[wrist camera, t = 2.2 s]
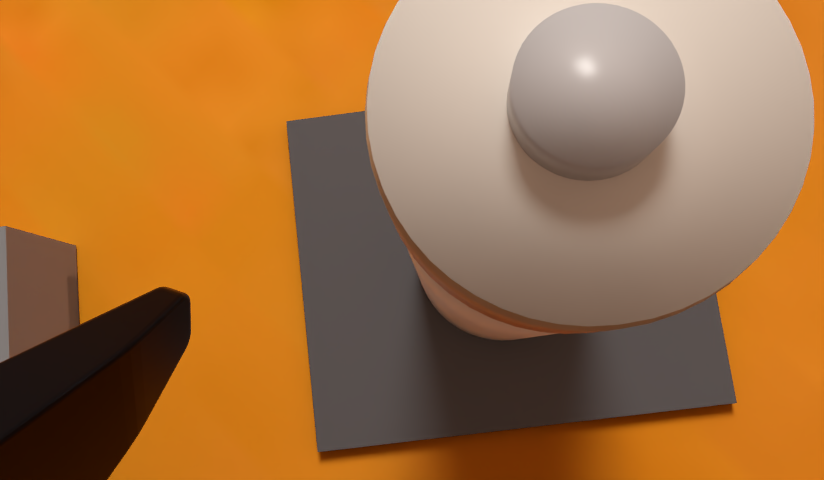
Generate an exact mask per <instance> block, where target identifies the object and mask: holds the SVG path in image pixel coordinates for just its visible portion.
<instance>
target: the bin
mask: <svg viewBox="0 0 824 480" xmlns="http://www.w3.org/2000/svg"><path fill="white" fill-rule="evenodd" d="M78 325H79V306H78V282H77V259H76V246H75V245H72V244H68V243H65V242H61V241H57V240H54V239H50V238H46V237H43V236H39V235H36V234H32V233H28V232H25V231H21V230H18V229H14V228H10V227H7V226H3V227H0V362H2V361H4V360H6V359H9V358H11V357H13V356H15V355H17V354H19V353H21V352H23V351H25V350H28V349H30V348H32V347H34V346H36V345H38V344H40V343H42V342H44V341H47V340H49V339H51V338H53V337H55V336H57V335H59V334H61V333H63V332H66V331H68V330H70V329H72V328H74V327H76V326H78Z"/></svg>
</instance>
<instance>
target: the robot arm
mask: <svg viewBox="0 0 824 480" xmlns="http://www.w3.org/2000/svg"><path fill="white" fill-rule="evenodd" d="M190 334H191V313H190V298H189V296H188V295H187V294H185V293H183V292H180V291H177V290H174V289H171V288H168V287H159V288H156V289H154V290H152V291H150V292H148V293H146V294H144V295H142V296H139V297H137V298H135V299H133V300H131V301H129V302H127V303H125V304H123V305H120V306H118V307H116V308H114V309H112V310H110V311H108V312H106V313H104V314H101V315H99V316H97V317H95V318H93V319H91V320H89V321H87V322H85V323H82V324H80V325H78V326H76V327H74V328H72V329H70V330H68V331H66V332H63V333H61V334H59V335H57V336H55V337H53V338H51V339H49V340H47V341H44V342H42V343H40V344H38V345H36V346H34V347H32V348H30V349H28V350H25V351H23V352H21V353H19V354H17V355H15V356H13V357H11V358H9V359H6V360H4V361H2V362H0V480H107V479H108V478H109V476H110V475H111V474H112V472H113V471H114V469H115V468H116V467H117V465H118V464H119V462H120V461H121V459H122V458H123V457H124V455H125V454H126V452H127V451H128V449H129V448H130V446H131V445H132V443H133V442H134V440H135V439H136V437H137V436H138V434H139V433H140V431H141V429H142V427H143V426H144V424H145V422H146V421H147V419H148V417H149V415H150V413H151V411H152V410H153V408H154V406H155V404H156V402H157V400H158V399H159V397H160V395H161V393H162V391H163V390H164V388H165V386H166V384H167V382H168V380H169V379H170V377H171V375H172V373H173V371H174V369H175V368H176V366H177V364H178V362H179V360H180V358H181V357H182V355H183V353H184V351H185V349H186V347H187V345H188V342H189V339H190Z"/></svg>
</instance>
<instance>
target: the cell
mask: <svg viewBox="0 0 824 480" xmlns="http://www.w3.org/2000/svg"><path fill="white" fill-rule="evenodd" d="M365 124H366V141H367V146H368V152H369V157H370V163H371V167H372V170H373V173H374V177H375V180H376V183H377V186H378V189H379V192H380V194H381V197H382V199H383V201H384V203H385V206H386V208H387V210H388V213H389V215H390V217H391V219H392V221H393V223H394V225H395V227H396V230H397V232H398V234H399V236H400V238H401V239H402V241H403V242H404V244H405V246H406V247H407V249H408V252H409V254H410V257H411V259H412V262H413V264H414V267H415V269H416V271H417V274H418V276H419V279H420V281H421V284H422V286H423V288H424V290H425V293H426V295H427V297H428V298H429V300H430V301H431V303H432V304H433V306H434V307H435V308H436V310H437V311H438V312H439V313H440V314H441V315H442V316H443V317H444V318H445V319H446V320H447V321H449V322H450V323H451V324H453V325H454V326H456V327H457V328H459V329H460V330H462V331H464V332H466V333H468V334H471V335H474V336H477V337H480V338H485V339H489V340H501V341H503V340H516V339H523V338H530V337H537V336H544V335H551V334H558V333H560V334H574V333H592V332H600V331H609V330H617V329H623V328H628V327H634V326H639V325H644V324H649V323H652V322H655V321H658V320H661V319H664V318H667V317H670V316H673V315H676V314H679V313H681V312H683V311H685V310H687V309H689V308H691V307H693V306H695V305H697V304H699V303H701V302H703V301H705V300H706V299H708V298H709V297H711V296H712V295H714V294H715V293H717V292H718V291H720V290H721V289H723V288H724V287H726V286H727V285H729V284H730V283H731V282H732V281H733V280H734V279H735V278H736V277H738V276H739V275H740V274H741V273H742V272H743V271H744V270H745V269H747V268H748V267H749V266H750V265H751V264H752V263H753V262H754V261H755V260H756V259H757V258H758V257H759V256H760V255H761V253H762V252H763V251H764V250H765V249H766V247H767V246H768V245H769V244H770V243H771V241H772V240H773V239H774V238H775V237H776V235H777V234H778V232H779V230H780V229H781V227H782V226H783V224H784V222H785V221H786V219H787V218H788V216H789V214H790V213H791V211H792V209H793V206H794V204H795V202H796V200H797V197H798V195H799V193H800V191H801V188H802V186H803V183H804V179H805V176H806V172H807V168H808V165H809V161H810V157H811V150H812V142H813V134H814V100H813V93H812V87H811V80H810V74H809V70H808V67H807V64H806V60H805V57H804V53H803V50H802V47H801V45H800V42H799V40H798V38H797V36H796V33H795V31H794V29H793V27H792V25H791V22H790V20H789V19H788V17H787V16H786V14H785V12H784V11H783V9H782V7H781V6H780V4H779V3H778V1H777V0H399V1H398V3H397V4H396V6H395V8H394V10H393V12H392V14H391V16H390V17H389V19H388V21H387V23H386V25H385V27H384V30H383V32H382V35H381V37H380V40H379V43H378V45H377V48H376V51H375V55H374V59H373V63H372V67H371V72H370V76H369V81H368V85H367V95H366V106H365Z"/></svg>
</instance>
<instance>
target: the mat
mask: <svg viewBox="0 0 824 480" xmlns="http://www.w3.org/2000/svg"><path fill="white" fill-rule="evenodd" d="M287 132H288V142H289V153H290V163H291V174H292V185H293V195H294V206H295V216H296V227H297V237H298V248H299V258H300V269H301V280H302V290H303V301H304V311H305V322H306V332H307V343H308V354H309V364H310V375H311V385H312V396H313V406H314V417H315V427H316V438H317V449H318V452H323V451H331V450H340V449H348V448H357V447H365V446H374V445H382V444H391V443H400V442H408V441H417V440H425V439H434V438H442V437H451V436H459V435H468V434H476V433H485V432H493V431H502V430H510V429H519V428H527V427H536V426H545V425H553V424H562V423H570V422H579V421H587V420H596V419H604V418H613V417H621V416H630V415H638V414H647V413H655V412H664V411H672V410H681V409H690V408H698V407H707V406H715V405H724V404H732V403H737V402H736V397H735V392H734V386H733V381H732V376H731V370H730V365H729V360H728V355H727V349H726V344H725V339H724V334H723V328H722V323H721V318H720V312H719V307H718V302H717V297H716V293H715V294H714V295H712V296H711V297H709V298H708V299H706V300H705V301H703V302H701V303H699V304H697V305H695V306H693V307H691V308H689V309H687V310H685V311H683V312H681V313H679V314H676V315H673V316H670V317H667V318H664V319H661V320H658V321H655V322H652V323H649V324H644V325H639V326H634V327H628V328H623V329H617V330H609V331H600V332H592V333H574V334H560V333H558V334H551V335H544V336H537V337H530V338H523V339H516V340H503V341H501V340H489V339H485V338H480V337H477V336H474V335H471V334H468V333H466V332H464V331H462V330H460V329H459V328H457V327H456V326H454V325H453V324H451V323H450V322H449V321H447V320H446V319H445V318H444V317H443V316H442V315H441V314H440V313H439V312H438V311H437V310H436V308H435V307H434V306H433V304H432V303H431V301H430V300H429V298H428V297H427V295H426V293H425V290H424V288H423V286H422V284H421V281H420V279H419V276H418V274H417V271H416V269H415V267H414V264H413V262H412V259H411V257H410V254H409V252H408V249H407V247H406V246H405V244H404V242H403V241H402V239H401V238H400V236H399V234H398V232H397V230H396V227H395V225H394V223H393V221H392V219H391V217H390V215H389V213H388V210H387V208H386V206H385V203H384V201H383V199H382V197H381V194H380V192H379V189H378V186H377V183H376V180H375V177H374V173H373V170H372V167H371V163H370V157H369V152H368V146H367V141H366V124H365V111H362V112H354V113H347V114H339V115H332V116H324V117H316V118H309V119H301V120H294V121H287Z"/></svg>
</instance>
